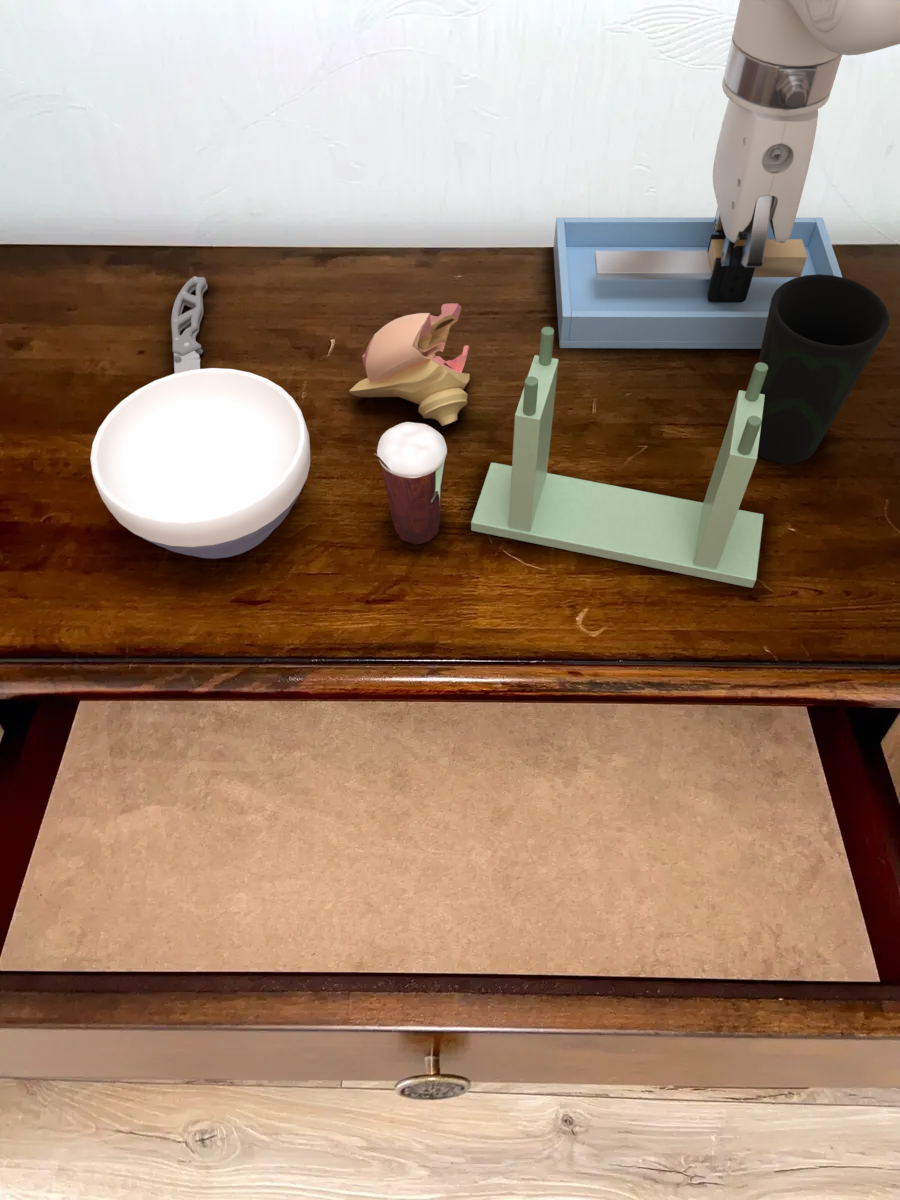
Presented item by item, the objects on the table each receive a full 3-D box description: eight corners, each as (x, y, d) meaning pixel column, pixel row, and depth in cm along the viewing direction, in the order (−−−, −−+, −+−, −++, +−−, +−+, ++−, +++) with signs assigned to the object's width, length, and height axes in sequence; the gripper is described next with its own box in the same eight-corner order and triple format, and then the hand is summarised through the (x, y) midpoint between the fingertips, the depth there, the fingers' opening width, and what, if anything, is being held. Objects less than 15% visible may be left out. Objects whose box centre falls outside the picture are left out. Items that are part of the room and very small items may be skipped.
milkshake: (364, 535, 68) (350, 437, 60) (416, 493, 70) (409, 392, 62) (410, 569, 66) (401, 473, 58) (461, 525, 68) (460, 426, 60)
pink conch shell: (506, 412, 75) (463, 403, 67) (400, 455, 79) (345, 452, 71) (471, 303, 76) (423, 279, 67) (366, 351, 80) (308, 335, 71)
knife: (211, 425, 75) (173, 429, 74) (208, 285, 84) (174, 289, 84) (207, 410, 73) (168, 415, 73) (204, 270, 83) (170, 274, 83)
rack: (760, 522, 68) (822, 368, 56) (752, 588, 65) (817, 439, 53) (490, 470, 71) (495, 314, 59) (470, 531, 68) (471, 378, 56)
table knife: (794, 257, 80) (801, 236, 79) (801, 279, 79) (808, 259, 77) (594, 257, 81) (596, 237, 79) (596, 279, 79) (599, 259, 78)
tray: (811, 249, 86) (822, 217, 83) (842, 349, 78) (856, 317, 76) (553, 249, 86) (556, 217, 84) (559, 348, 79) (562, 316, 76)
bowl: (263, 620, 64) (241, 552, 58) (82, 558, 67) (43, 487, 61) (354, 470, 72) (343, 396, 65) (188, 421, 75) (162, 345, 68)
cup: (719, 457, 72) (760, 331, 62) (741, 391, 76) (783, 263, 66) (822, 485, 70) (881, 360, 60) (839, 417, 74) (897, 288, 64)
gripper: (860, 130, 62) (783, 351, 77) (812, 13, 71) (752, 232, 86) (744, 130, 62) (690, 351, 77) (711, 14, 71) (669, 232, 86)
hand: (723, 286), depth 81 cm, fingers closed on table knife, 2 cm apart
